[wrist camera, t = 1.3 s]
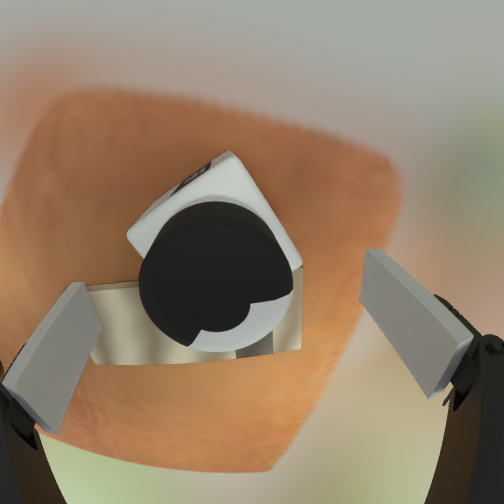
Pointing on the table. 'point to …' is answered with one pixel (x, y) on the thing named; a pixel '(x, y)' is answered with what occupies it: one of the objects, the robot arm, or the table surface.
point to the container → (214, 260)
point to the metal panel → (160, 345)
